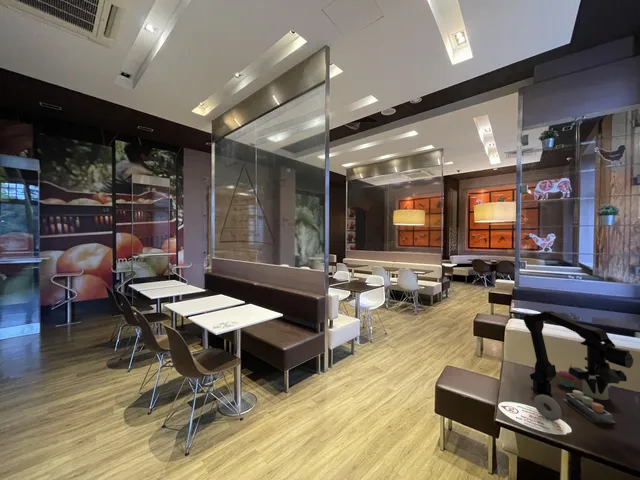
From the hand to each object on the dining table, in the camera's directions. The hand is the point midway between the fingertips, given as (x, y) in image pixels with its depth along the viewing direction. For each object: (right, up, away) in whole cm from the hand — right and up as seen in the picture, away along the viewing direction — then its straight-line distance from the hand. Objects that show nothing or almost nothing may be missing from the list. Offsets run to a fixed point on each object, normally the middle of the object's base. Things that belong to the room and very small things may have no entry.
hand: (597, 393), depth 115 cm
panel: (+1, -11, +5) cm, 12 cm away
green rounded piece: (+1, -9, +5) cm, 10 cm away
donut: (-21, -12, 0) cm, 24 cm away
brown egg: (0, -9, 0) cm, 9 cm away
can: (+18, -11, +18) cm, 28 cm away
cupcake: (+12, -11, +27) cm, 31 cm away
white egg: (+1, -9, +10) cm, 13 cm away
